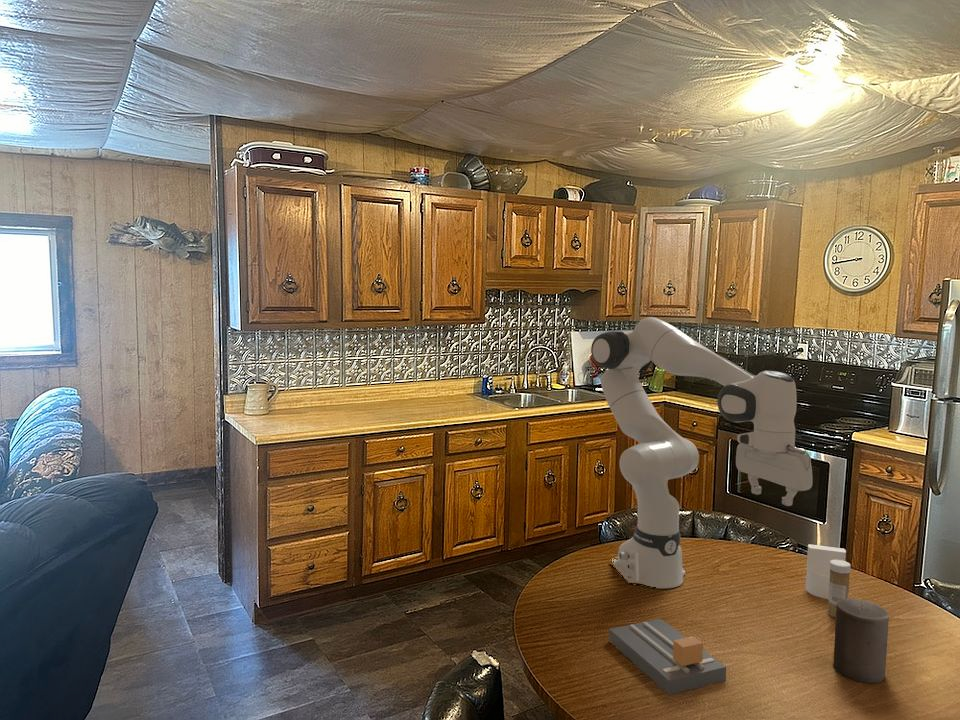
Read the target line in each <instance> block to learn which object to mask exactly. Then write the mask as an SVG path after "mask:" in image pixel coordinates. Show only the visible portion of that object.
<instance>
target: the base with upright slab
mask: <svg viewBox="0 0 960 720" xmlns="http://www.w3.org/2000/svg"><path fill="white" fill-rule="evenodd" d="M846 554H847V550H846V549H845V548H841V547H834V546H833V547H832V546H827V545H819V544H809V543H808V545H807V556H806V574H805V575H806V578H805V590H806V592H808V593H809V594H810V595H811V596H815V597H816V598H817V597H818V598H821V599H826V600H828V598H829V580H830V561H831V560H843V561H846V558H847V557H846Z"/></svg>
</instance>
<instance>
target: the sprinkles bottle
mask: <svg viewBox="0 0 960 720" xmlns="http://www.w3.org/2000/svg"><path fill="white" fill-rule="evenodd" d="M851 568H852V566H851V563H850V562H848V561H846V560H845V561H843V560H831V561H830V580H829V598H828V599H827V600H828V607H827V608H828V609H827V615H829V616H831V617H833V618H835V619H836V609H837V602H838V601H840V600H842V599H847V598H849V596H850V592H849V590H850V573H851Z"/></svg>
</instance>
